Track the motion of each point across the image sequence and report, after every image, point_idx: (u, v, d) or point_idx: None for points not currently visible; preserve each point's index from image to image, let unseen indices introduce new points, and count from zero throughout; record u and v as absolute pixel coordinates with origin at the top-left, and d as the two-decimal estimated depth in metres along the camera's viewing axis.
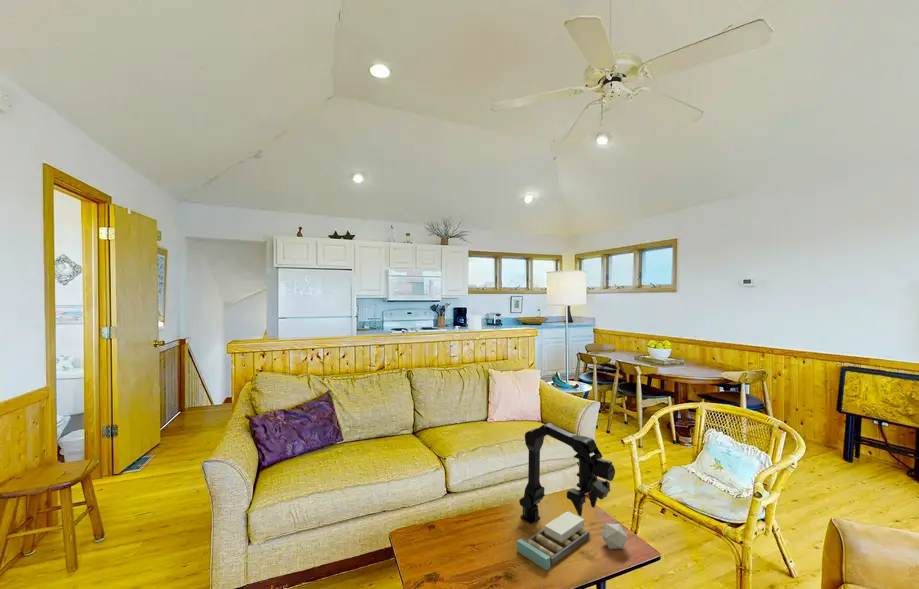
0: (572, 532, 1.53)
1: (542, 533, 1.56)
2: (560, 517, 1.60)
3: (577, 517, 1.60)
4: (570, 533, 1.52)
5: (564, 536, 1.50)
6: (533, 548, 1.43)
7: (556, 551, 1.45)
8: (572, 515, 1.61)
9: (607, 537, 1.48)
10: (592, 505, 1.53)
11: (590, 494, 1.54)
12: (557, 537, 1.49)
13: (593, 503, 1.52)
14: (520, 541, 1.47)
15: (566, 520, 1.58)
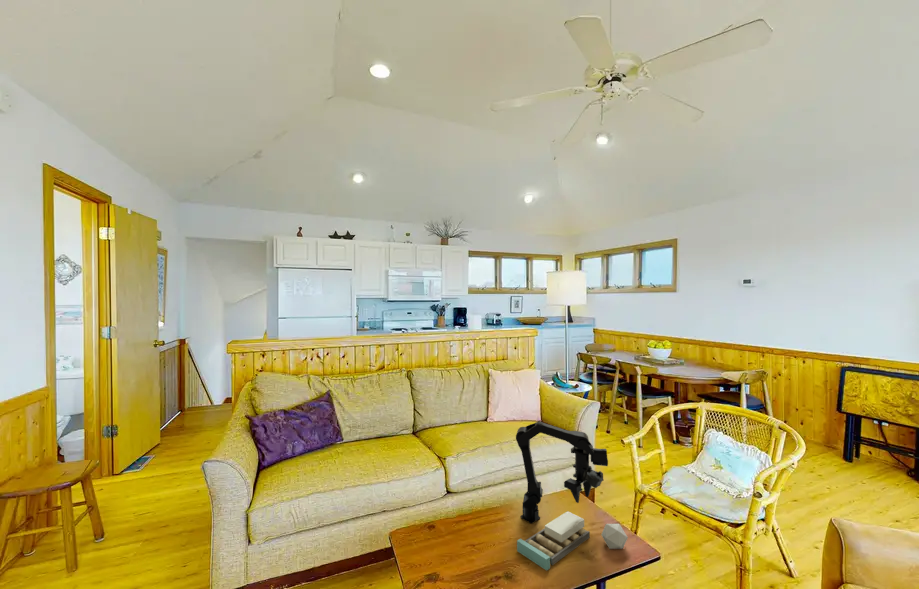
0: (572, 532, 1.53)
1: (542, 533, 1.56)
2: (560, 517, 1.60)
3: (577, 517, 1.60)
4: (570, 533, 1.52)
5: (564, 536, 1.50)
6: (533, 548, 1.43)
7: (556, 551, 1.45)
8: (572, 515, 1.61)
9: (607, 537, 1.48)
10: (586, 495, 1.67)
11: (584, 485, 1.68)
12: (557, 537, 1.49)
13: (587, 493, 1.67)
14: (520, 541, 1.47)
15: (566, 520, 1.58)
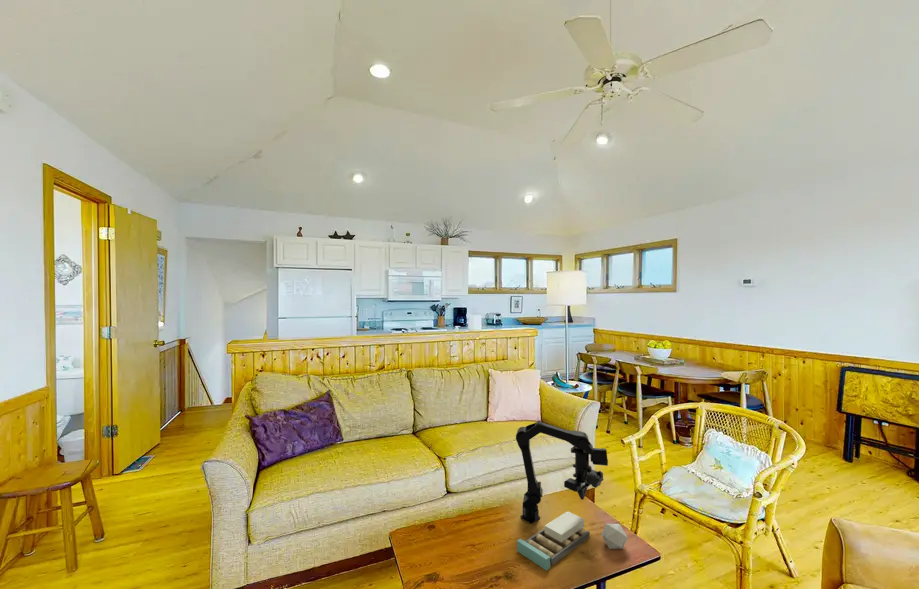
0: (572, 532, 1.53)
1: (542, 533, 1.56)
2: (560, 517, 1.60)
3: (577, 517, 1.60)
4: (570, 533, 1.52)
5: (564, 536, 1.50)
6: (533, 548, 1.43)
7: (556, 551, 1.45)
8: (572, 515, 1.61)
9: (607, 537, 1.48)
10: None
11: None
12: (557, 537, 1.49)
13: None
14: (520, 541, 1.47)
15: (566, 520, 1.58)
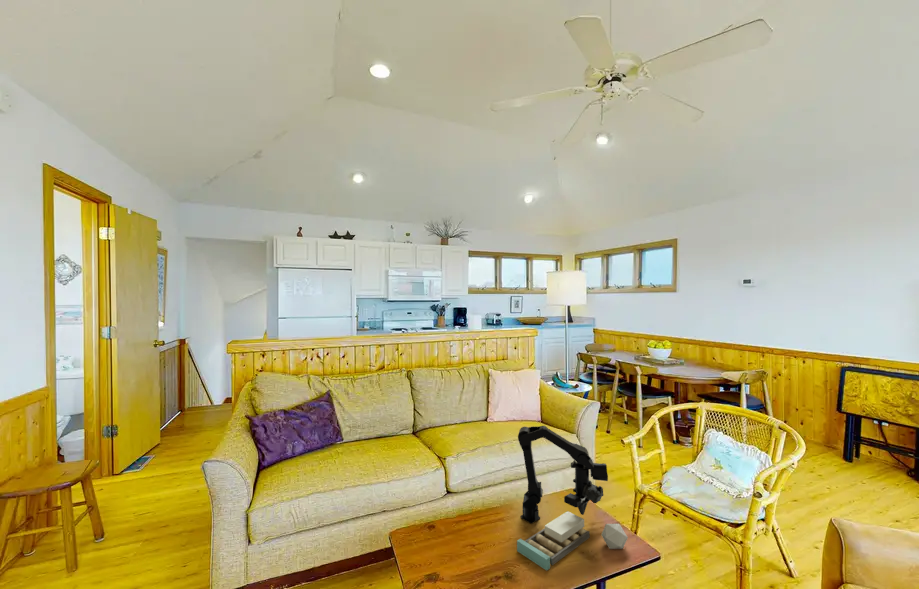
0: (572, 532, 1.53)
1: (542, 533, 1.56)
2: (560, 517, 1.60)
3: (577, 517, 1.60)
4: (570, 533, 1.52)
5: (564, 536, 1.50)
6: (533, 548, 1.43)
7: (556, 551, 1.45)
8: (572, 515, 1.61)
9: (607, 537, 1.48)
10: None
11: None
12: (557, 537, 1.49)
13: None
14: (520, 541, 1.47)
15: (566, 520, 1.58)
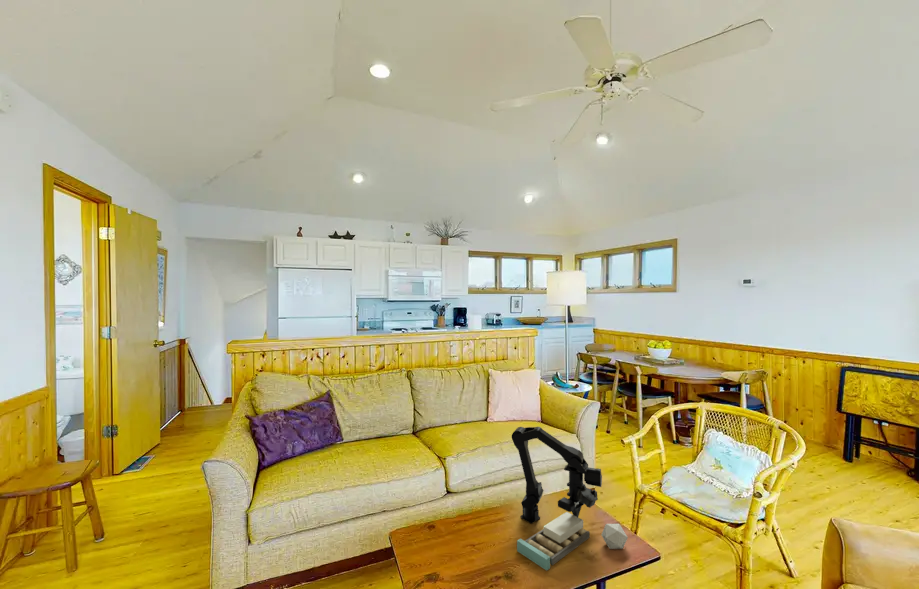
0: (571, 533, 1.52)
1: (542, 533, 1.56)
2: (559, 518, 1.59)
3: (576, 518, 1.59)
4: (569, 534, 1.51)
5: (563, 537, 1.49)
6: (533, 548, 1.43)
7: (556, 551, 1.45)
8: (571, 516, 1.61)
9: (607, 537, 1.48)
10: None
11: None
12: (556, 538, 1.49)
13: None
14: (520, 541, 1.47)
15: (565, 521, 1.57)
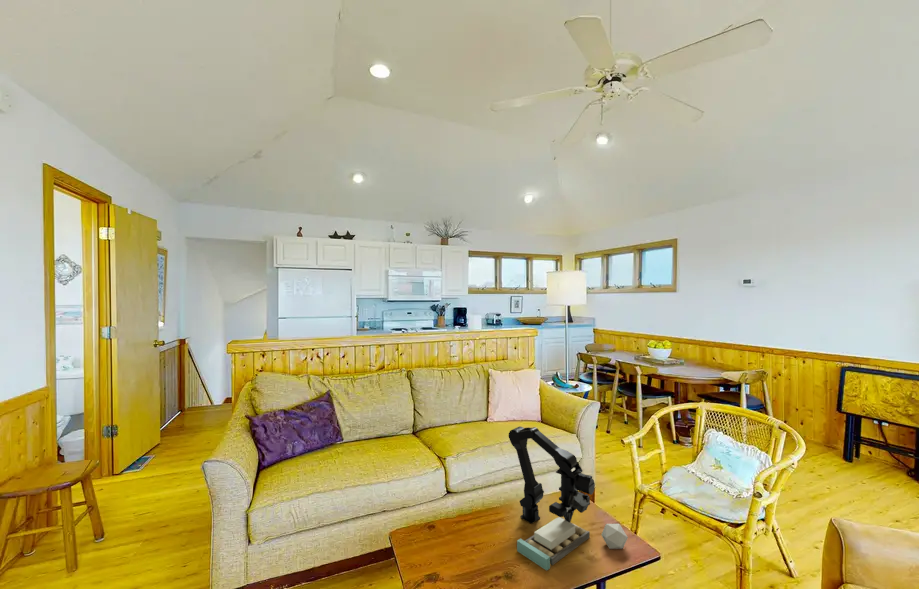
0: (562, 539, 1.49)
1: None
2: (550, 523, 1.56)
3: (568, 523, 1.56)
4: (560, 540, 1.48)
5: (554, 543, 1.45)
6: (533, 548, 1.43)
7: (556, 551, 1.45)
8: (563, 521, 1.57)
9: (607, 537, 1.48)
10: (568, 521, 1.58)
11: None
12: (547, 544, 1.45)
13: None
14: (520, 541, 1.47)
15: (557, 526, 1.53)
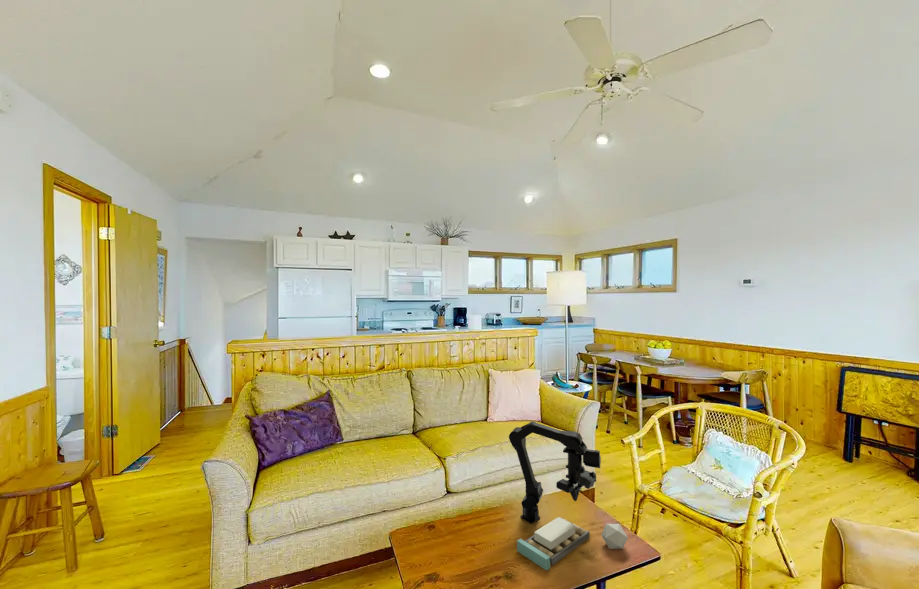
0: (562, 539, 1.49)
1: None
2: (550, 523, 1.56)
3: (568, 523, 1.56)
4: (560, 540, 1.48)
5: (554, 543, 1.45)
6: (533, 548, 1.43)
7: (556, 551, 1.45)
8: (563, 521, 1.57)
9: (607, 537, 1.48)
10: None
11: None
12: (547, 544, 1.45)
13: None
14: (520, 541, 1.47)
15: (557, 526, 1.53)
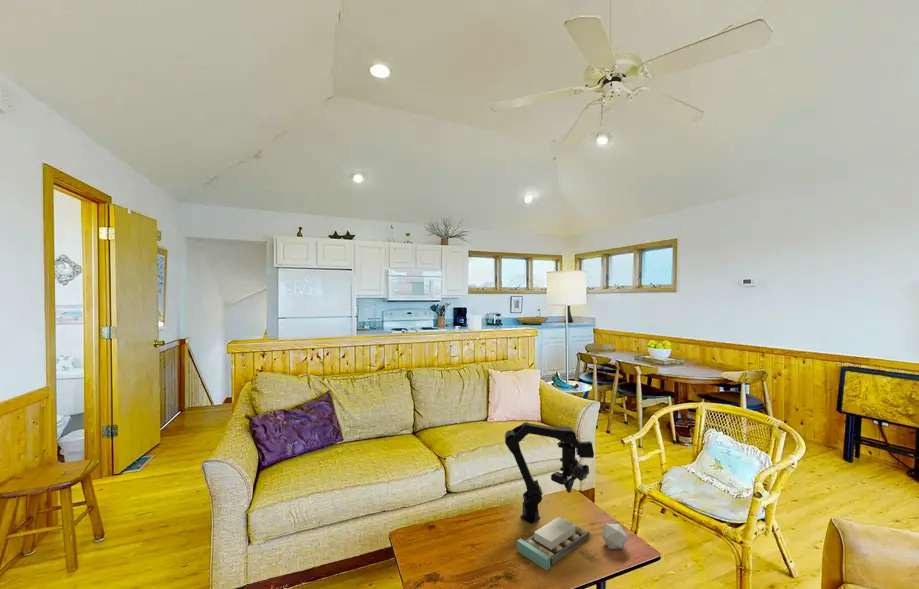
0: (562, 539, 1.49)
1: None
2: (550, 523, 1.56)
3: (568, 523, 1.56)
4: (560, 540, 1.48)
5: (554, 543, 1.45)
6: (533, 548, 1.43)
7: (556, 551, 1.45)
8: (563, 521, 1.57)
9: (607, 537, 1.48)
10: None
11: None
12: (547, 544, 1.45)
13: None
14: (520, 541, 1.47)
15: (557, 526, 1.53)
